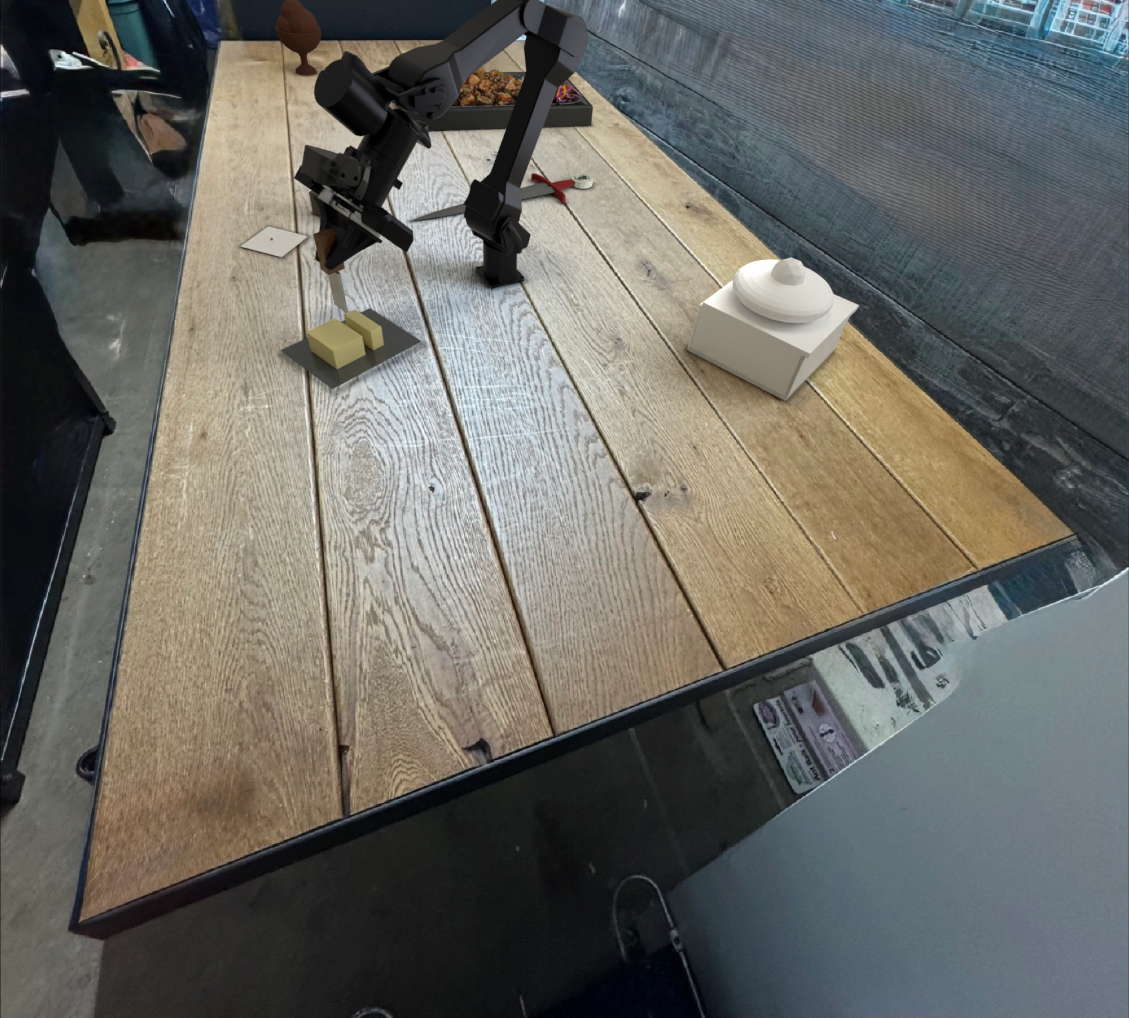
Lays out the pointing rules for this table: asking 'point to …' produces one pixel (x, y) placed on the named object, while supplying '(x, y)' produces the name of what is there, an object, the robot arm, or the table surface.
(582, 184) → the dagger
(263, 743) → the table surface
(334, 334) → the butter block
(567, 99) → the food platter
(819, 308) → the white lidded jar
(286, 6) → the ice cream bowl
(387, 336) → the butter board
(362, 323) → the butter slice
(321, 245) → the knife
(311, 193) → the knife stand
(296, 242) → the coaster
